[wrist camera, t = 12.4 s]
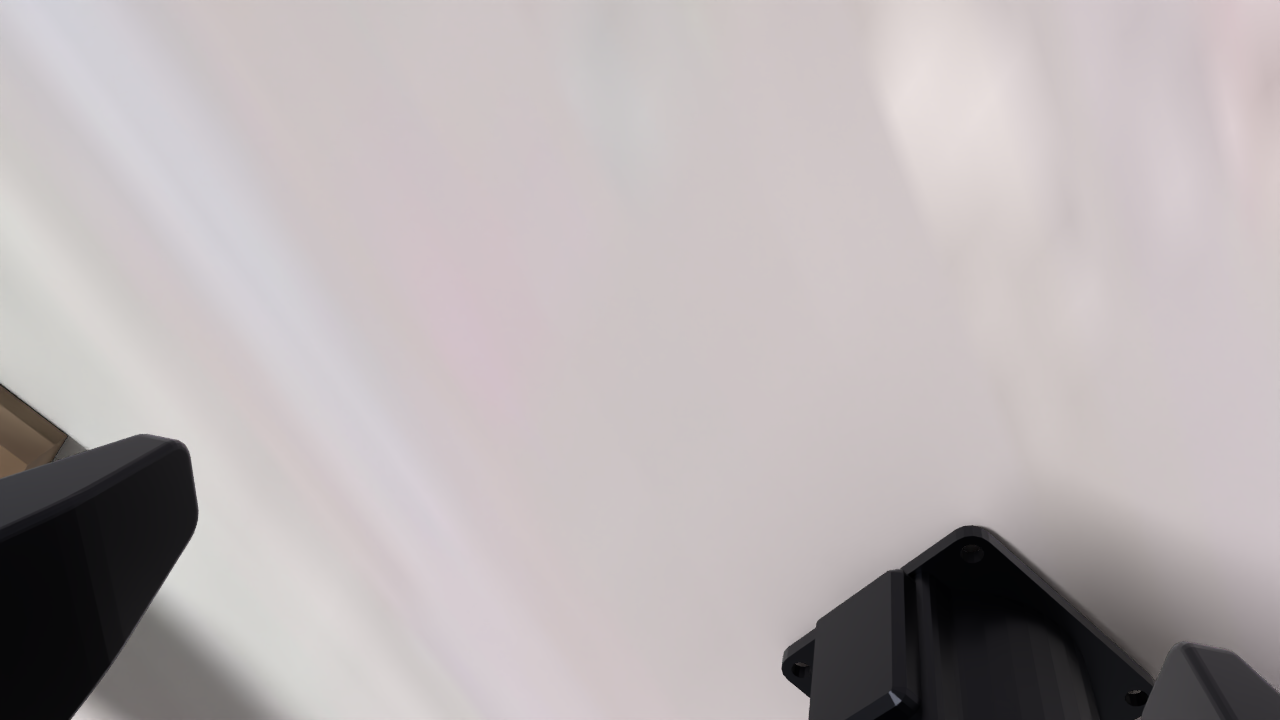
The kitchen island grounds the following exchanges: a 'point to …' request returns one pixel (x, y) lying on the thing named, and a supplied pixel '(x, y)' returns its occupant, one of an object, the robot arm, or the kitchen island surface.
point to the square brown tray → (24, 436)
